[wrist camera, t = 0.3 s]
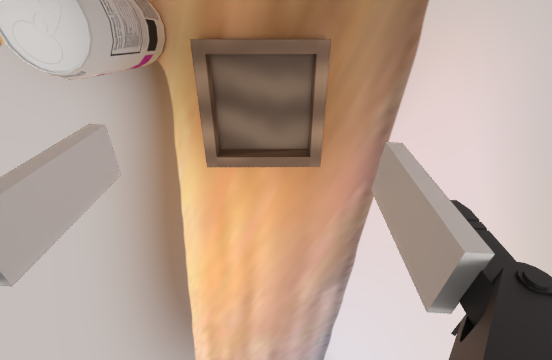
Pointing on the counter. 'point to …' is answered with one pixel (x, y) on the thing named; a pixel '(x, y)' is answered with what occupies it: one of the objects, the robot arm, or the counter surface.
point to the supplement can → (82, 35)
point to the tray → (262, 100)
